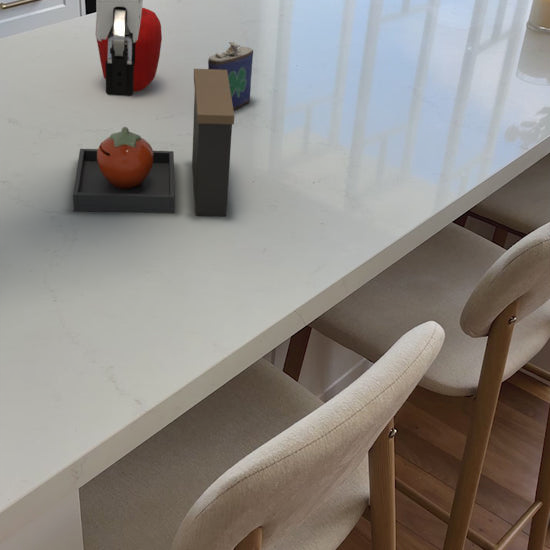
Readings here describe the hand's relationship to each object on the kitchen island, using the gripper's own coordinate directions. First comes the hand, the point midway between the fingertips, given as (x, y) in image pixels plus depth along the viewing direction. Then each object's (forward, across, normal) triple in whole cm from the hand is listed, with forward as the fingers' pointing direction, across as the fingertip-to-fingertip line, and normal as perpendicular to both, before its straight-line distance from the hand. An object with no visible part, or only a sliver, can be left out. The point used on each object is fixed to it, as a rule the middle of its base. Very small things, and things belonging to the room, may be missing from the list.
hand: (121, 79), depth 109 cm
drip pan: (+15, 0, +1) cm, 15 cm away
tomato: (+15, 0, +1) cm, 15 cm away
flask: (+15, -28, +16) cm, 35 cm away
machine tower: (+15, 0, +12) cm, 19 cm away
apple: (+15, -34, 0) cm, 38 cm away
